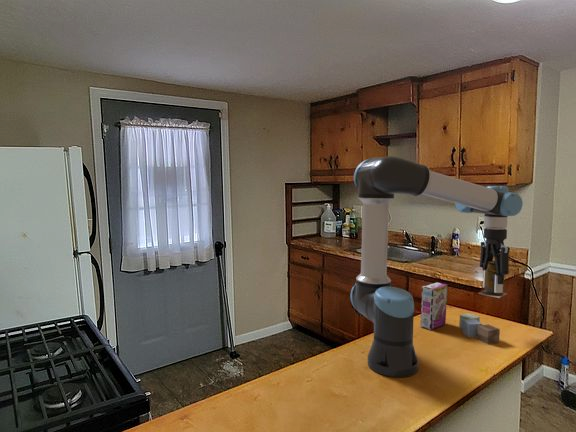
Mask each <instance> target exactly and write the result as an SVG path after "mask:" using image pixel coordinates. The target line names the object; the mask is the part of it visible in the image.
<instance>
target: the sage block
mask: <svg viewBox="0 0 576 432" xmlns="http://www.w3.org/2000/svg"><path fill="white" fill-rule="evenodd" d="M463 319H476V320H477V321H479V322H480V319H481V318H480V316H478V315H476V314H472V313H469V312H468V313H463V314H459V323H458V324H459V326H458V327H459V328H460V329H462V321H463ZM480 323H481V322H480Z"/></svg>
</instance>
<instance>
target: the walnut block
mask: <svg viewBox="0 0 576 432" xmlns="http://www.w3.org/2000/svg"><path fill="white" fill-rule="evenodd" d="M500 333H501V331H500V328H498V327H496V326H493V325H492V324H489V323H488V324H482V325H479V326H477V337H476V339H477V340H478V341H481V342H482V343H484V344H486V345H492V344H498V343H499V344H500Z"/></svg>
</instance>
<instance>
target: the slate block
mask: <svg viewBox="0 0 576 432" xmlns="http://www.w3.org/2000/svg"><path fill="white" fill-rule="evenodd" d="M479 325H483V323H482V322H479V321H477V320H476V319H463V321H462V328H461V332H462V333H463V335H465V336H466V337H468V338H477V326H479Z"/></svg>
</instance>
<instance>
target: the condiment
mask: <svg viewBox="0 0 576 432" xmlns="http://www.w3.org/2000/svg"><path fill="white" fill-rule="evenodd" d="M495 274H497V272H496V265H495V260H493V261H488V266H487V269H486V285H485V288H484V289H485V290H482V291H480V292H478V294H479V295H483V296H485V297H486V296H487V297H491V298H492V297H493V298H498V299H500V298H502V297H504V296H506V295H508V293H507V292H504V291H505V290H504V289H505V280H504V281H503V293H495V292H494V286H495Z"/></svg>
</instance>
